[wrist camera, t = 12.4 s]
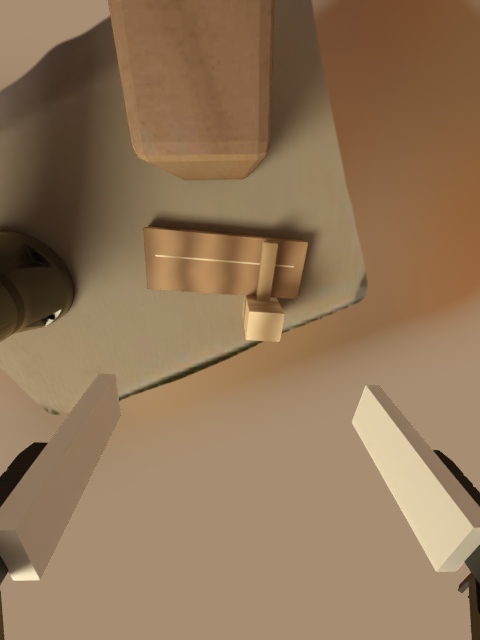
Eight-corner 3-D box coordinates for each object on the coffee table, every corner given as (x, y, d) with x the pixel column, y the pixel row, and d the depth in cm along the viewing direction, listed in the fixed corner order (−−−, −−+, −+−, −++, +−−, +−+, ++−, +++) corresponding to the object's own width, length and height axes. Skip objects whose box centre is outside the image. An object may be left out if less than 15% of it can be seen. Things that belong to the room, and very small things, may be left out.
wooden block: (249, 88, 32) (278, -58, 14) (249, 179, 36) (272, 158, 18) (169, 89, 32) (92, -61, 14) (178, 180, 36) (130, 160, 18)
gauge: (242, 316, 45) (245, 341, 37) (250, 237, 40) (256, 246, 31) (269, 318, 46) (279, 343, 38) (282, 240, 40) (296, 250, 32)
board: (151, 283, 42) (147, 288, 40) (148, 226, 38) (143, 227, 36) (293, 294, 44) (297, 299, 42) (303, 240, 40) (308, 242, 38)
